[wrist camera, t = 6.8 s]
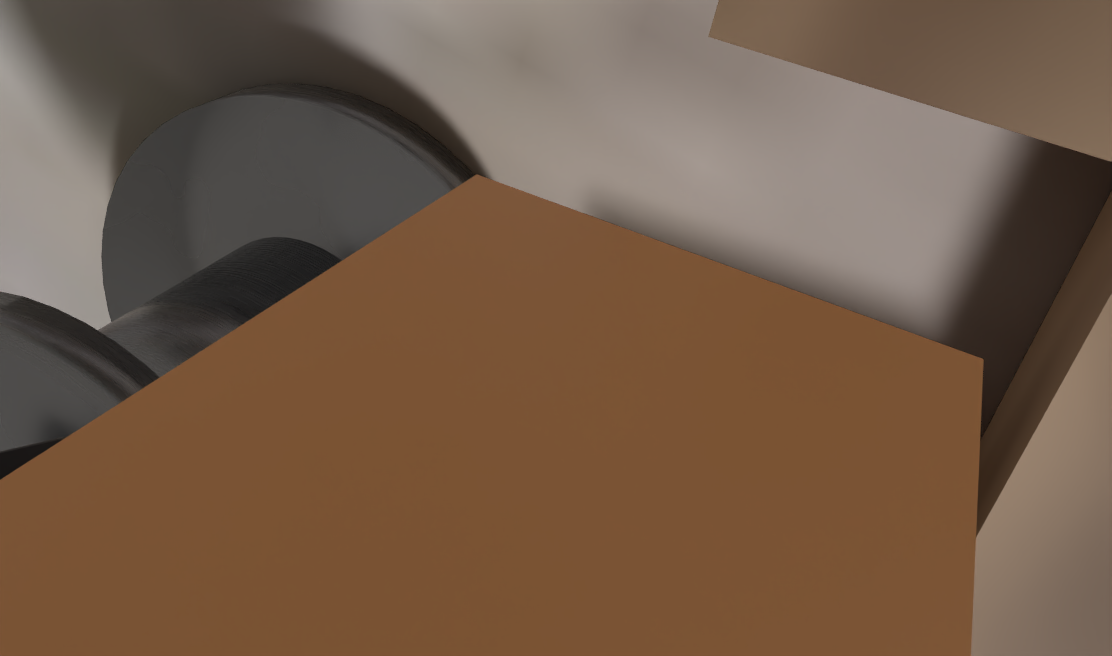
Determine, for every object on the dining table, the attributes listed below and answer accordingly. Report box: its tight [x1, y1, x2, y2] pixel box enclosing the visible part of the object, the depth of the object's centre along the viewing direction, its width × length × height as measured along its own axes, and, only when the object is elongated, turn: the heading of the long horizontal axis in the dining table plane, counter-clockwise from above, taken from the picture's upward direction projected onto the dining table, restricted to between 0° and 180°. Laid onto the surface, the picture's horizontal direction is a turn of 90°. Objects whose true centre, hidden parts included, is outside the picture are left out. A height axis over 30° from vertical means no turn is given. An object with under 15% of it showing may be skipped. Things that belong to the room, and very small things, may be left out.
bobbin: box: [0, 84, 474, 451], centre depth 17 cm, size 9×9×8 cm
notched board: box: [708, 0, 1112, 656], centre depth 14 cm, size 11×16×2 cm
